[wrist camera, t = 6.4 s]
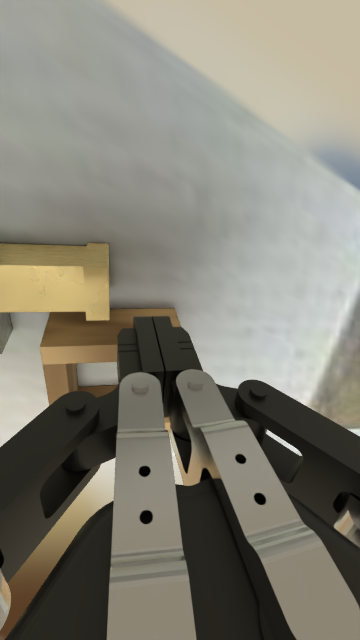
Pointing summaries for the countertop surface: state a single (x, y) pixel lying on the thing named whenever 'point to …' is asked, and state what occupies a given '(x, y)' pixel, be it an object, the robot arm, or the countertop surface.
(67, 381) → the brown square frame
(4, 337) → the socket block
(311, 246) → the countertop surface
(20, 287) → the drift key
